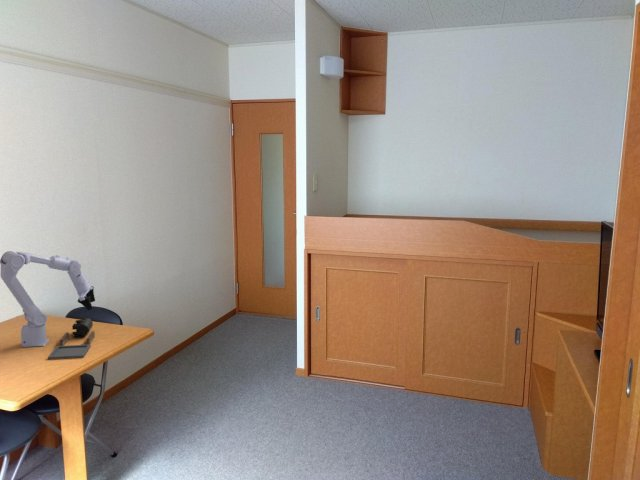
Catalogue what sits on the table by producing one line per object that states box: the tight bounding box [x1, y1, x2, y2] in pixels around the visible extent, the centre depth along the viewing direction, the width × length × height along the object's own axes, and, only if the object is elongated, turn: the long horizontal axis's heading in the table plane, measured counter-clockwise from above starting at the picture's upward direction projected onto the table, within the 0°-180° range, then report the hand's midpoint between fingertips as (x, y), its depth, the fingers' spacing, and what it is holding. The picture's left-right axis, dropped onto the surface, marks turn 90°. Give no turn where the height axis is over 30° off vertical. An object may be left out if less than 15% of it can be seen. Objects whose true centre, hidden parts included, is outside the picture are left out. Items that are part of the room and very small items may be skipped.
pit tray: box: [47, 343, 92, 360], centre depth 217 cm, size 14×13×1 cm
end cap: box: [72, 317, 94, 339], centre depth 239 cm, size 10×7×7 cm
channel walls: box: [59, 331, 96, 346], centre depth 229 cm, size 12×10×3 cm
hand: (91, 305), depth 243 cm, fingers open, 7 cm apart
